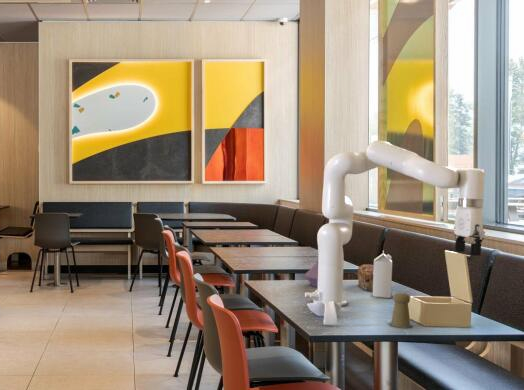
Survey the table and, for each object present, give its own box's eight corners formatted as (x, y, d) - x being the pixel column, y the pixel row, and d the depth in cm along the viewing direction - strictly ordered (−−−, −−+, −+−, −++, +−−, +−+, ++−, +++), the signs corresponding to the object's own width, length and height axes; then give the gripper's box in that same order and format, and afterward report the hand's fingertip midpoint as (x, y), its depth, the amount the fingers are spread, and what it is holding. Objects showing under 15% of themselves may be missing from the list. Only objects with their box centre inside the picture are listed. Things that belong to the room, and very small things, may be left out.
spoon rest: (305, 310, 231) (305, 291, 231) (337, 312, 230) (338, 292, 229) (313, 325, 208) (314, 304, 208) (350, 327, 206) (351, 305, 206)
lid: (464, 255, 210) (477, 252, 210) (444, 250, 223) (457, 248, 223) (470, 302, 211) (484, 300, 211) (450, 295, 223) (463, 293, 224)
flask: (308, 281, 298) (310, 239, 297) (344, 285, 290) (345, 242, 289) (298, 286, 284) (300, 242, 283) (336, 290, 275) (337, 245, 275)
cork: (412, 328, 207) (413, 295, 207) (392, 326, 208) (394, 294, 208) (408, 324, 213) (409, 292, 213) (389, 322, 214) (390, 291, 214)
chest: (425, 326, 211) (425, 303, 210) (407, 317, 223) (408, 296, 223) (470, 327, 211) (471, 304, 211) (451, 318, 224) (451, 296, 223)
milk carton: (372, 296, 262) (374, 251, 262) (372, 294, 269) (374, 250, 268) (390, 298, 260) (392, 252, 259) (390, 295, 266) (392, 251, 266)
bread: (357, 284, 293) (357, 263, 293) (380, 285, 291) (381, 264, 291) (364, 291, 275) (365, 268, 275) (389, 292, 273) (390, 269, 273)
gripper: (446, 202, 225) (443, 249, 226) (473, 205, 208) (470, 256, 208) (467, 203, 225) (464, 250, 226) (496, 206, 208) (492, 257, 208)
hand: (467, 253), depth 217 cm, fingers open, 9 cm apart
